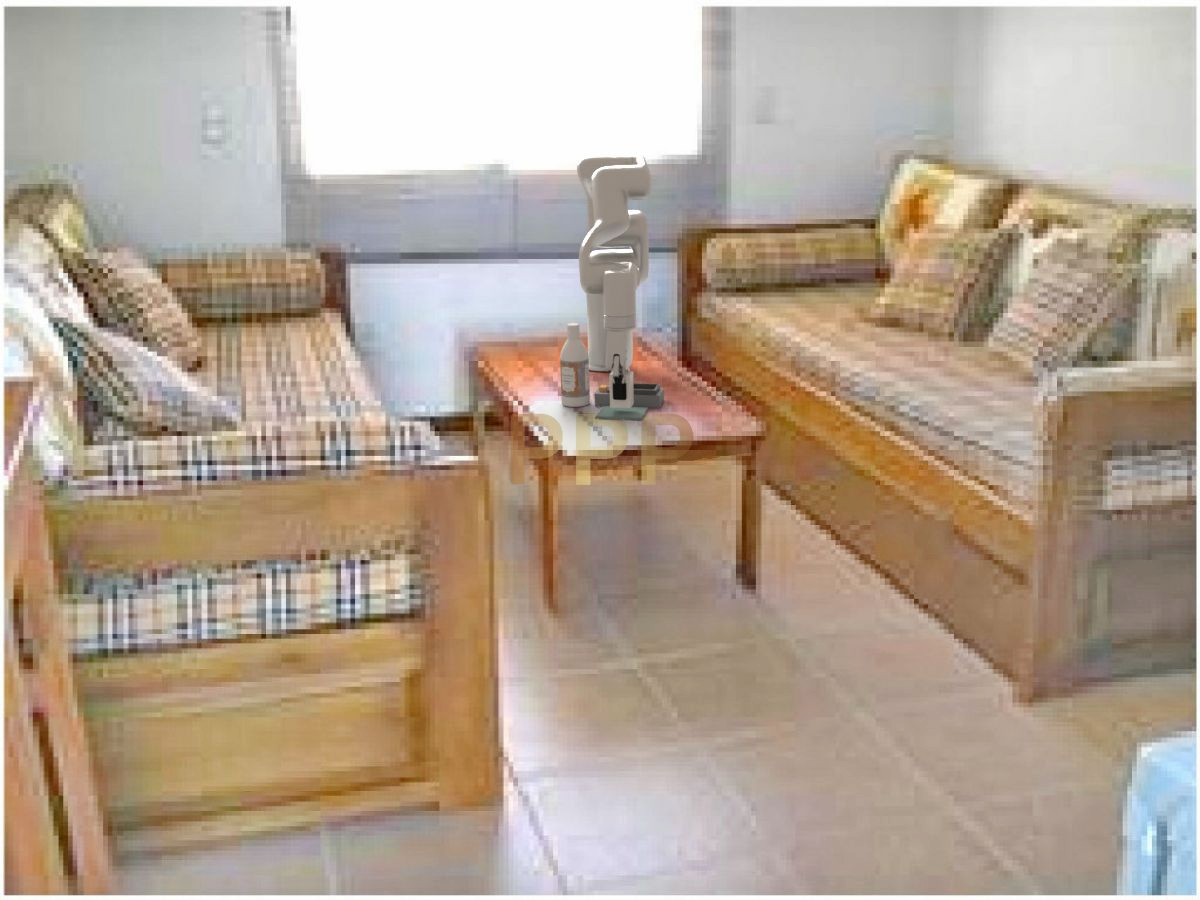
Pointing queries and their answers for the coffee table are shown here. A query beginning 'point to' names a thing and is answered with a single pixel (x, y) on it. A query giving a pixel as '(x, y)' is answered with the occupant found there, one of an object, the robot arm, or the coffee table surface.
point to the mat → (622, 413)
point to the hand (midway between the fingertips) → (621, 396)
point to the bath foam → (574, 370)
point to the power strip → (642, 395)
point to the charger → (629, 391)
